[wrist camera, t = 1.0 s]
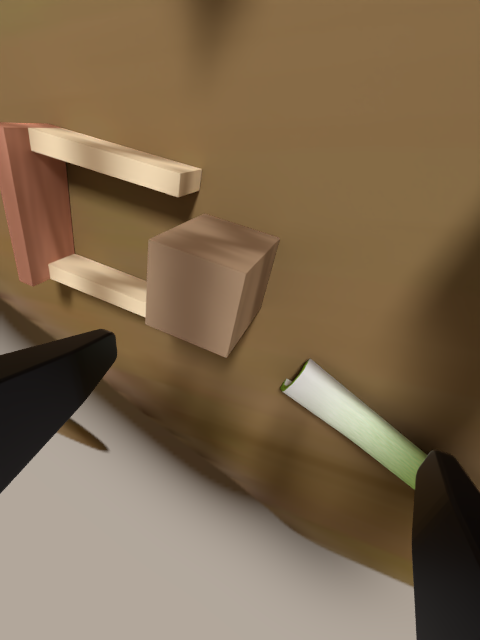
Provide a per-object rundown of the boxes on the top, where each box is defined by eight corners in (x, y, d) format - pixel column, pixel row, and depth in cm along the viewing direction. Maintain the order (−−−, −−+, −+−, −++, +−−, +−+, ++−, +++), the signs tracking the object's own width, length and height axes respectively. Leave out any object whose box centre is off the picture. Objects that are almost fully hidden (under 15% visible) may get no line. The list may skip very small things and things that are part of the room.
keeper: (280, 237, 19) (246, 273, 14) (260, 307, 22) (226, 358, 17) (204, 213, 20) (148, 239, 15) (195, 283, 23) (145, 324, 18)
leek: (334, 323, 23) (700, 620, 21) (283, 371, 28) (576, 615, 26) (305, 379, 18) (766, 761, 16) (250, 423, 23) (601, 723, 21)
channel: (202, 169, 19) (164, 176, 16) (185, 310, 24) (154, 337, 21) (47, 123, 21) (-14, 122, 18) (63, 262, 26) (19, 280, 23)
